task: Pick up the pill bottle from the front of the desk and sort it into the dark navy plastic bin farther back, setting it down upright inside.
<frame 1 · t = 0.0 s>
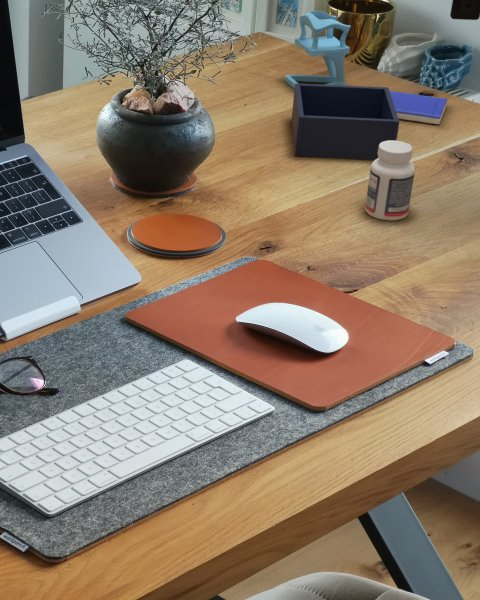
hand: (457, 6, 132), 24 cm above the table, tool pointing down, fingers open, 9 cm apart
blue book: (400, 111, 170), on the table
bin: (340, 140, 159), on the table
pill bottle: (385, 213, 140), on the table
chair: (317, 87, 178), on the table
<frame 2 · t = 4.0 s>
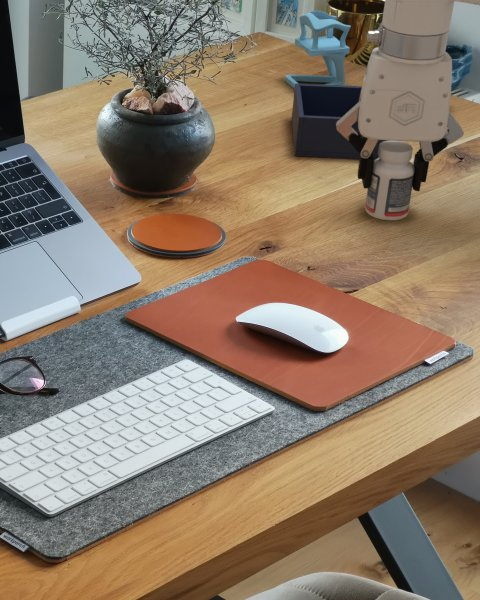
hand: (390, 184, 137), 4 cm above the table, tool pointing down, fingers closed on pill bottle, 5 cm apart
pill bottle: (385, 213, 140), on the table, touching gripper
everything else where it was.
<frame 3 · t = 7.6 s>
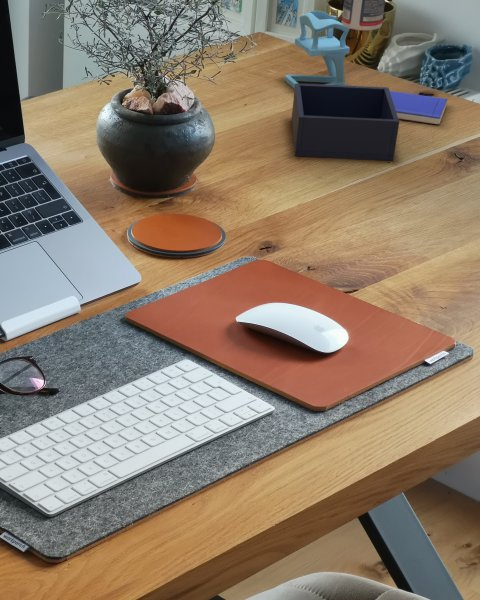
pill bottle: (361, 26, 148), point 17 cm above the table, touching gripper
everything else where it was.
when the fingers open (5 cm above the table, at t = 11.5 s): pill bottle stays where it is, resting on bin.
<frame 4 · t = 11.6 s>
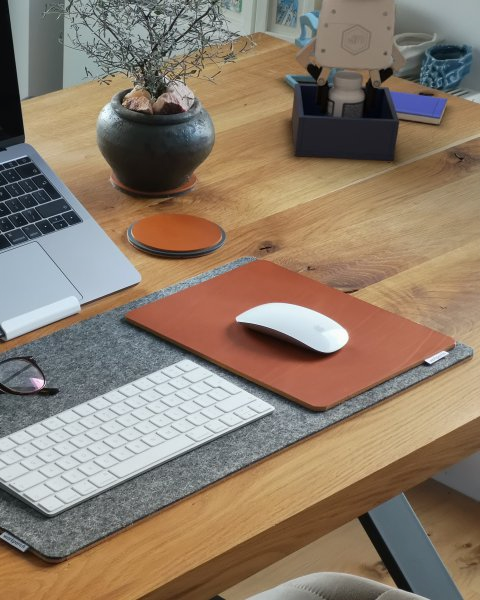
hand: (344, 109, 157), 5 cm above the table, tool pointing down, fingers open, 5 cm apart
pill bottle: (341, 136, 159), point 1 cm above the table, touching bin
everything else where it was.
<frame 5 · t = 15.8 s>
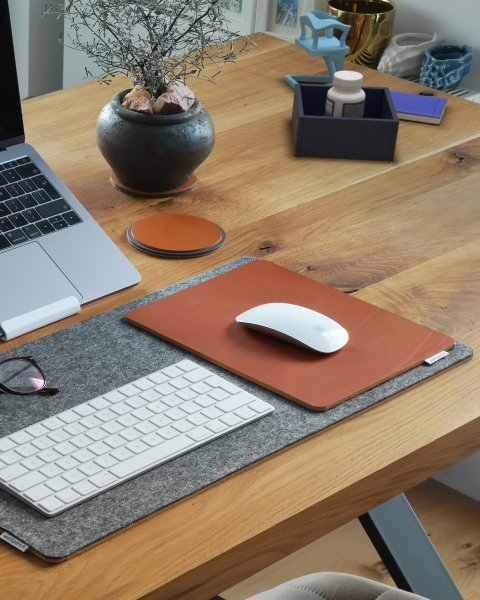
nothing on the table moved.
at the end: pill bottle inside the target area in the bin (0.1 cm from its centre), point 0.6 cm above the bin's base; pill bottle tilted 0°; the gripper is holding nothing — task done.
